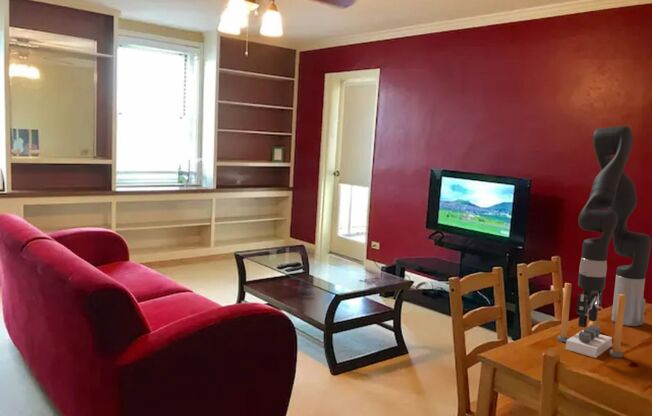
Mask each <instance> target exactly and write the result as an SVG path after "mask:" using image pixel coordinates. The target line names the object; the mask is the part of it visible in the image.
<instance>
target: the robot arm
mask: <svg viewBox="0 0 652 416" xmlns="http://www.w3.org/2000/svg"><path fill="white" fill-rule="evenodd" d="M633 139H634V137H633V132H632V129H631V128H630V127H629V126H626V125H620V126H619V125H617V126H607V127H600V128H597V129H595V130H594V132H593V134H592V142H593V148H594V152H595V155H596V158H597V162H598V166H599V169H600V171H599V172H598V174H597V175H596V176H595V178H594V180H593V183H592V186H591V191H590V195H589V198H588V200H587V201H586V204H584V206H583V208H582V210H581V211H580V212H579V215H578V218H577V219H578V225H579V228H580V229H581V230H583V231H587V232H597V233H602V234H601V236H600V237H594V238H593V237H592V238H591V237H590V238H586V239H584V240H583V241H582V242H583V243H582V247H581V248H582V249H581V258H580V263H579V267H578V269H579V271H578V278H577V279H578V281H577V287H579V288H581V289H582V290H583V291H582V293H581V294H580V293H579V294H578V295H577V303H576V311H575V312H576V314H578V326H579V327H582V328H586V327H588V320H589V321H596V320H597V319H598V318H597V311H599V309H600V308H599V306H600V307H602V300H603V290H605V288H606V278H607V272H608V262H607V261H608V252H609V245H610V241H611V238H612V241H613V247H614V251H615V253H616V254H617V255H619V256H621V257H624V258H625V257H626V258H630V259H631V258H632V259H633V260H632V262H631V263H630V264H625V265H619V266H617V268H616V272H615V273H616V274H615V280H614V281H615V283H614V291H613V300H612V302H613V303H612V312H611V322H614V323H616V313H617V304H618V294H623V295H626V300H625V309H624V318H623V326H629V327H638V326H643V325H644V317H645V316H644V315H645V306H646V299H645V298H644V291H645V285H646V284H645V283H646V275H647V271H648V268H649V267H648V266H649V262H650V261H649V260H650V255H651V248H652V240H651V236H649V234H647V233H640V232H635V231H630V230H628V225H627V222H628V219H629V218H630V216H631V215H632V213H633V212H634V210H635V209H636V207H637V204H638V197H637V192H636V186H635V184H634V182H633V180H632V179H631V177H629V176H628V175H627V174H626V173H625V172H624V169H625V167H626V165H627V163H628V159H629V156H630V155H631V154H630V153H631V151H632V148H633V145H634V144H633V142H634V140H633ZM612 156H613V157H612ZM607 208H608V209H607ZM597 321H598V320H597Z"/></svg>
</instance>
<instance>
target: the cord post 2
mask: <svg viewBox="0 0 652 416" xmlns="http://www.w3.org/2000/svg"><path fill="white" fill-rule="evenodd" d="M625 300H626V295H623V294H618V304H617V313H616V322H614V323H615V325H614V333H613V340H612V343H613V344H612V349H609V353H608V355H609V356H610V357H612V358H615V359H620V358H623V356H624V355H623V354H624V353H623V351H622V350H621V345H622V337H623V335H622V334H623V327H624V325H623V318H624V309H625Z"/></svg>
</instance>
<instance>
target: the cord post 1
mask: <svg viewBox="0 0 652 416" xmlns="http://www.w3.org/2000/svg"><path fill="white" fill-rule="evenodd" d="M563 289H564V290H563V300H562V311H561V324H560V334H559V335H557V341H558V342H559V343H563V344H565V343H566V340H567V339H569V338H570V336H568V329H569V328H568V327H569V316H570V306H571V298H572V297H571V295H572V283H569V282H565V283H564V288H563Z"/></svg>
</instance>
